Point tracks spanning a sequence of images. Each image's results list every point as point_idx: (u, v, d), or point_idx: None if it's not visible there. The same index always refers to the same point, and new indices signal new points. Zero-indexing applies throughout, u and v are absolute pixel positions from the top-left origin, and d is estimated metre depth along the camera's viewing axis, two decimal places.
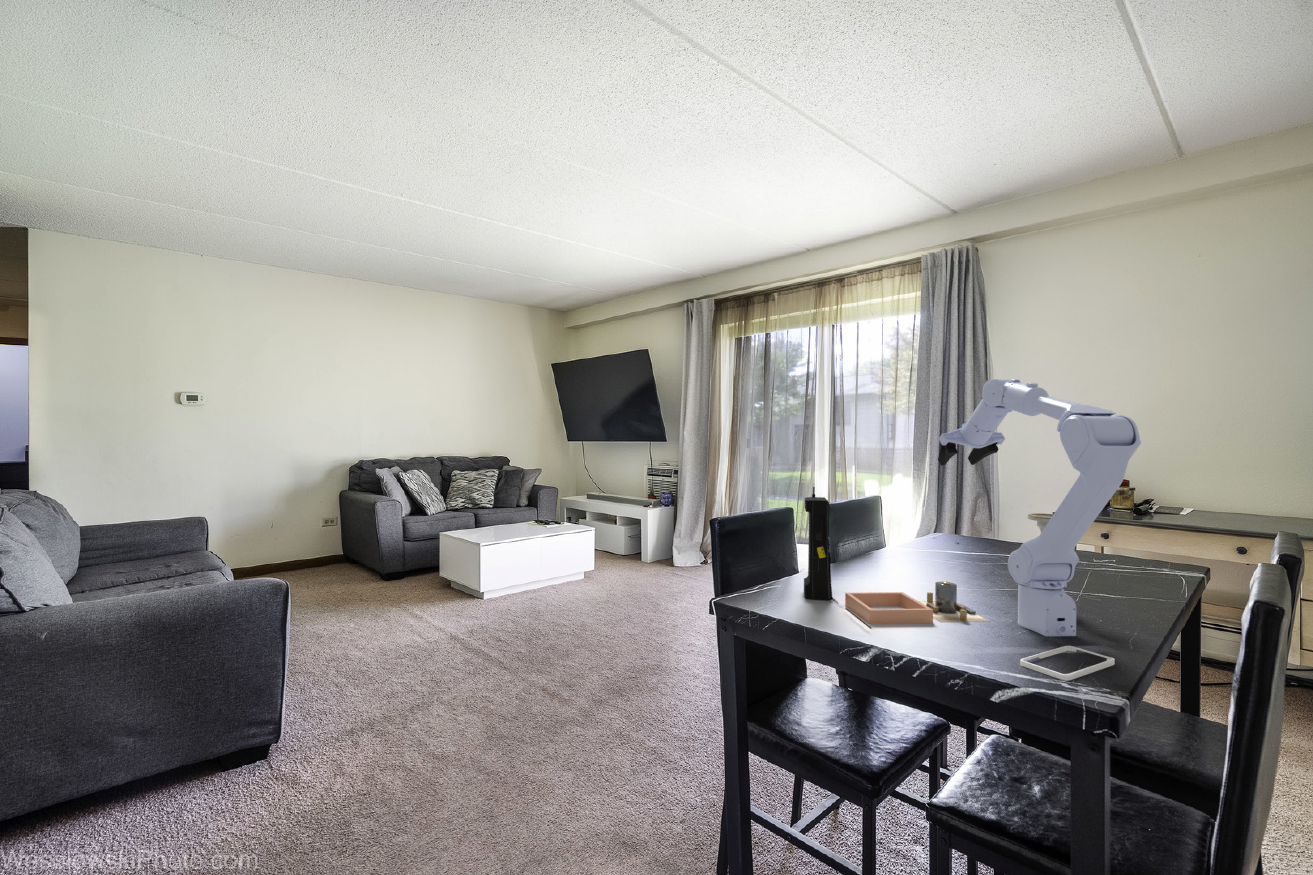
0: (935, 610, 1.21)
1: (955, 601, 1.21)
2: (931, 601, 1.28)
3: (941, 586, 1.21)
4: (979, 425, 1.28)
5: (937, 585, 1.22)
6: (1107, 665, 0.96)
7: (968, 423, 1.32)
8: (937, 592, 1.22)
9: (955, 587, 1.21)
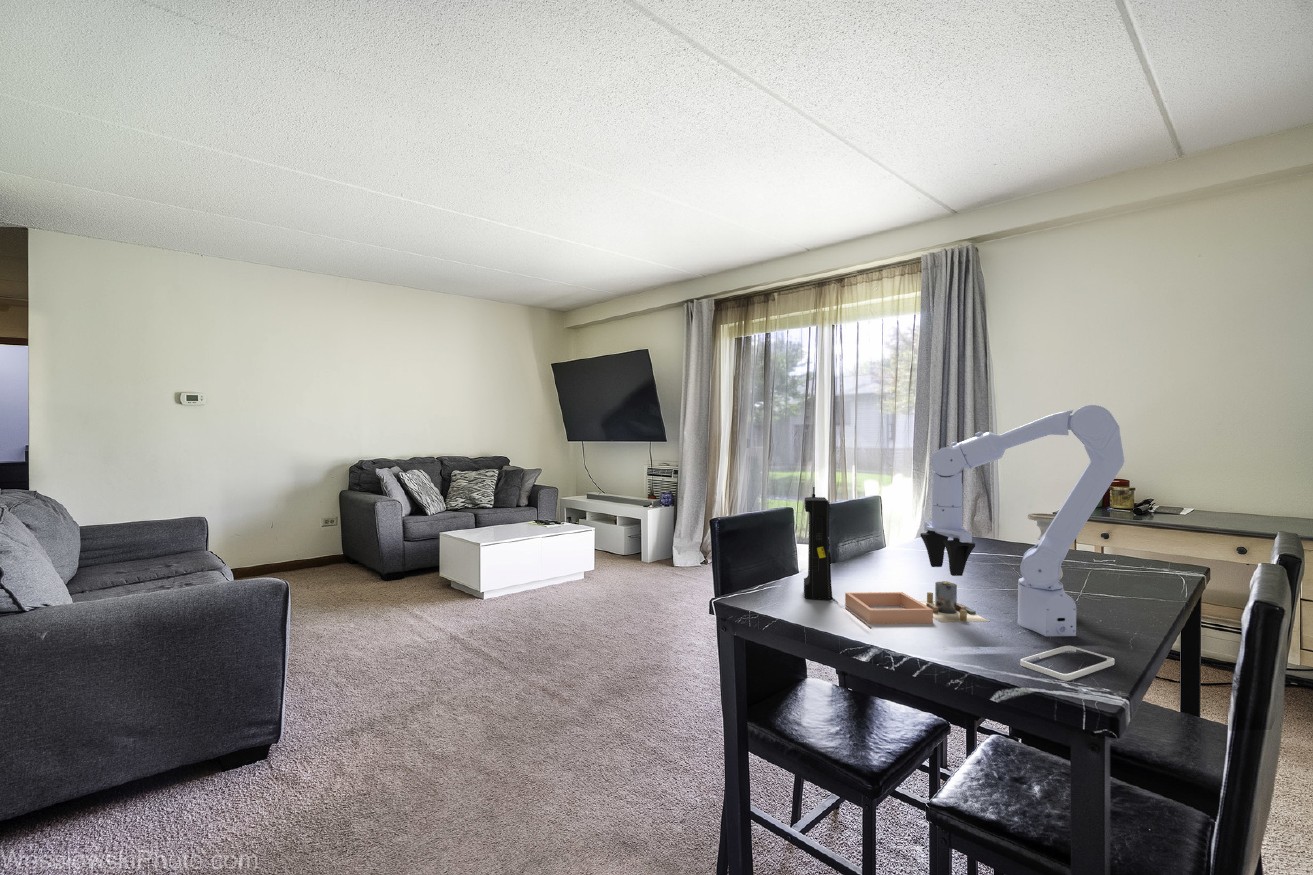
0: (935, 610, 1.21)
1: (955, 601, 1.21)
2: (931, 601, 1.28)
3: (941, 586, 1.21)
4: (955, 502, 1.20)
5: (937, 585, 1.22)
6: (1107, 665, 0.96)
7: (949, 512, 1.20)
8: (937, 592, 1.22)
9: (955, 587, 1.21)
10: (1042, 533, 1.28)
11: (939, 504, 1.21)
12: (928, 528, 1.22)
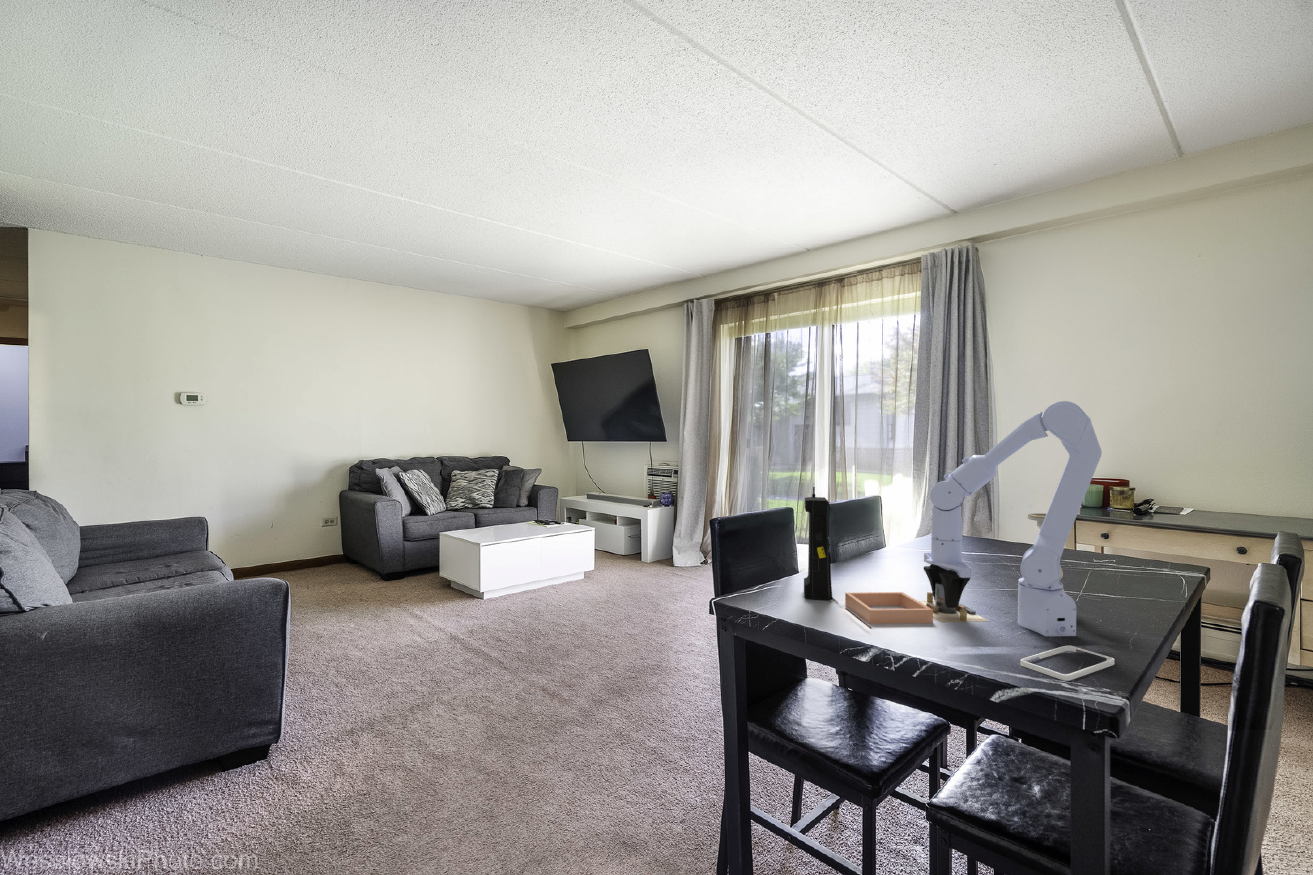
0: (935, 610, 1.21)
1: None
2: (931, 601, 1.28)
3: (941, 586, 1.21)
4: (954, 536, 1.20)
5: (937, 585, 1.22)
6: (1107, 665, 0.96)
7: (949, 546, 1.20)
8: (937, 592, 1.22)
9: None
10: None
11: (939, 538, 1.21)
12: (928, 561, 1.22)
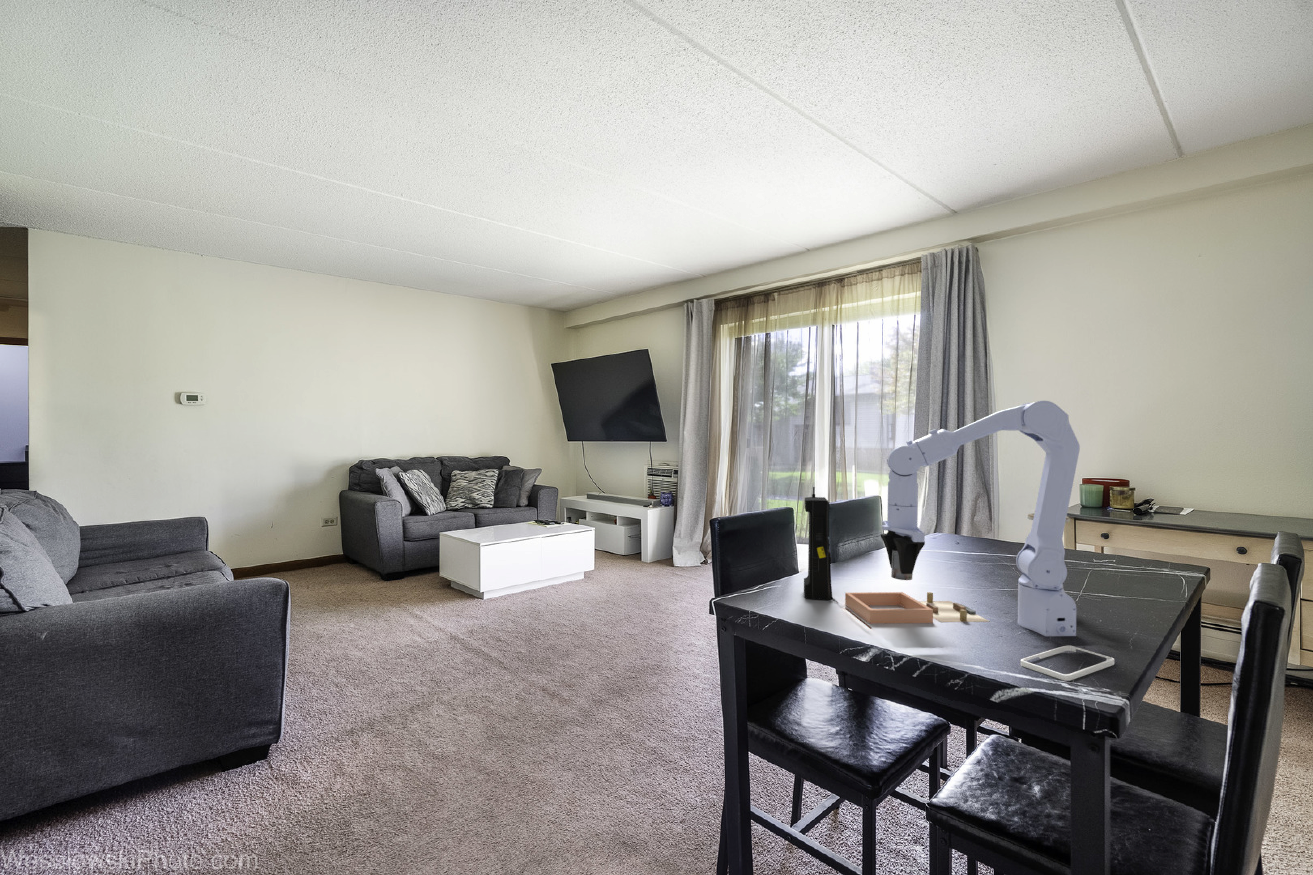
0: (935, 610, 1.21)
1: None
2: (931, 601, 1.28)
3: (897, 552, 1.20)
4: (913, 501, 1.18)
5: (894, 551, 1.21)
6: (1107, 665, 0.96)
7: (904, 511, 1.18)
8: (893, 558, 1.21)
9: None
10: None
11: (898, 504, 1.19)
12: (883, 527, 1.21)
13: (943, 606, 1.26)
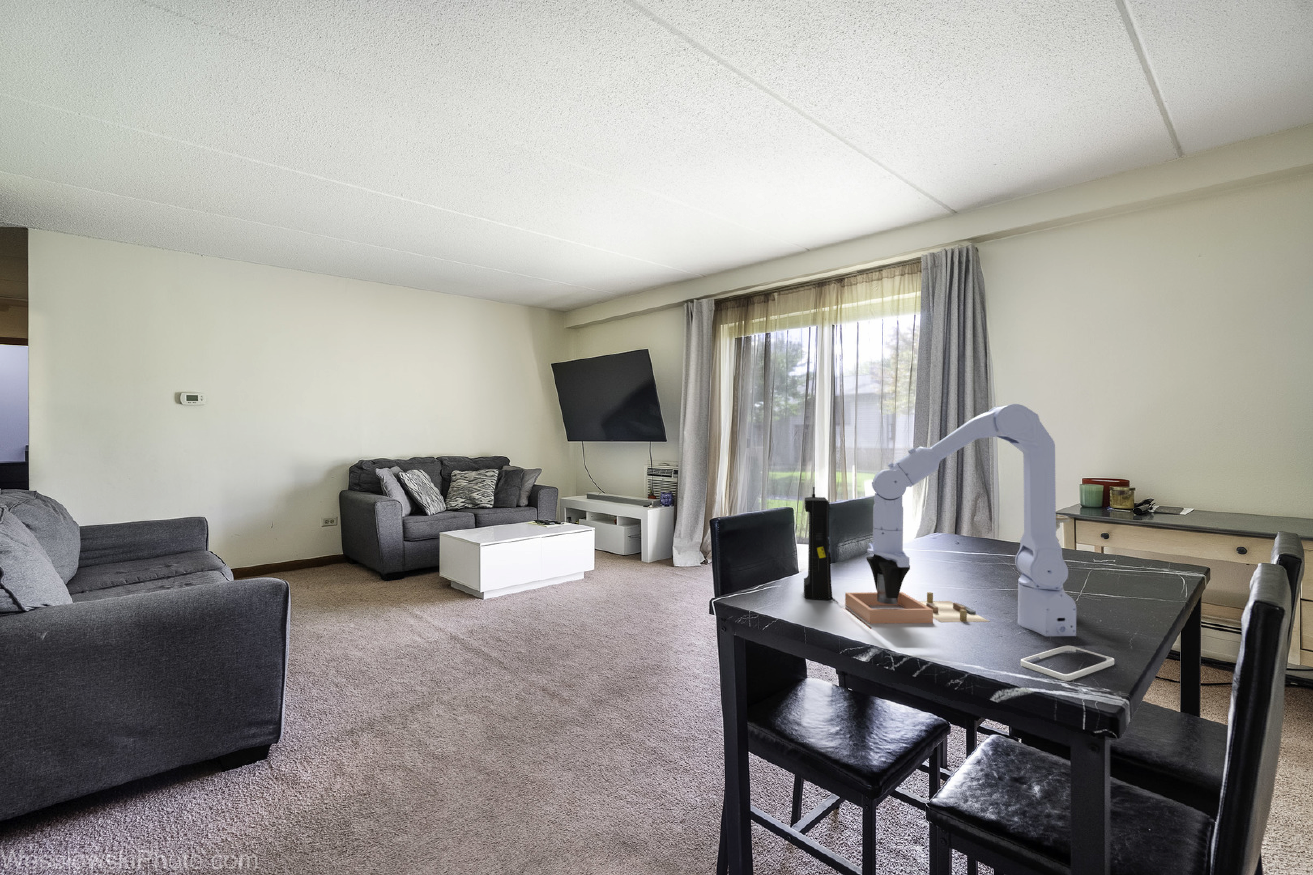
0: (935, 610, 1.21)
1: None
2: (931, 601, 1.28)
3: None
4: (898, 525, 1.18)
5: (879, 575, 1.20)
6: (1107, 665, 0.96)
7: (889, 535, 1.18)
8: (879, 582, 1.20)
9: None
10: None
11: (883, 528, 1.18)
12: (868, 551, 1.20)
13: (943, 606, 1.26)
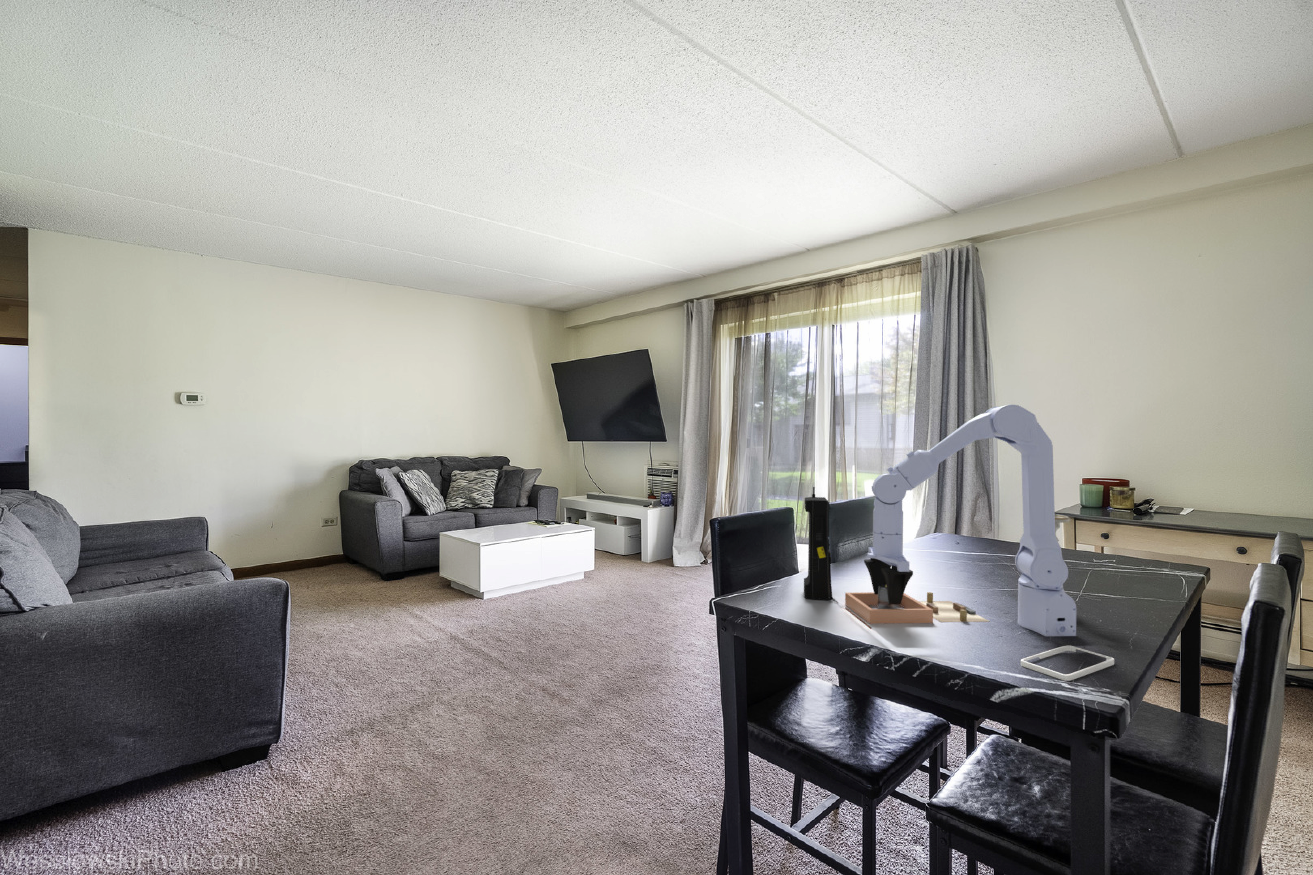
0: (935, 610, 1.21)
1: (897, 605, 1.19)
2: (931, 601, 1.28)
3: (883, 589, 1.20)
4: (898, 530, 1.18)
5: (880, 588, 1.20)
6: (1107, 665, 0.96)
7: (889, 540, 1.18)
8: (879, 595, 1.20)
9: None
10: None
11: (883, 532, 1.18)
12: (868, 555, 1.20)
13: (943, 606, 1.26)
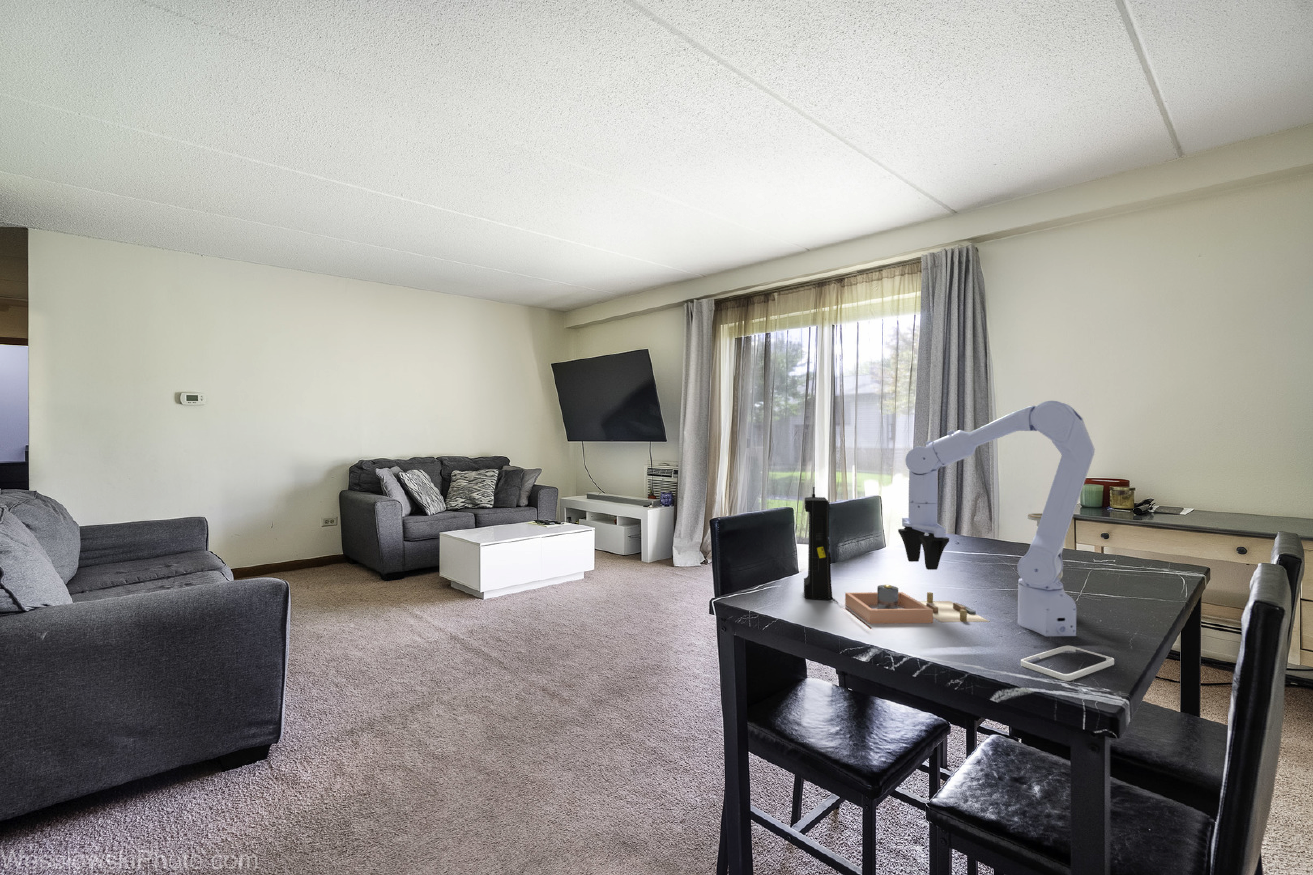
0: (935, 610, 1.21)
1: (896, 605, 1.19)
2: (931, 601, 1.28)
3: (882, 590, 1.20)
4: (928, 499, 1.25)
5: (879, 589, 1.20)
6: (1107, 665, 0.96)
7: (925, 508, 1.25)
8: (879, 596, 1.20)
9: (896, 591, 1.19)
10: None
11: (913, 501, 1.26)
12: (905, 524, 1.27)
13: (943, 606, 1.26)
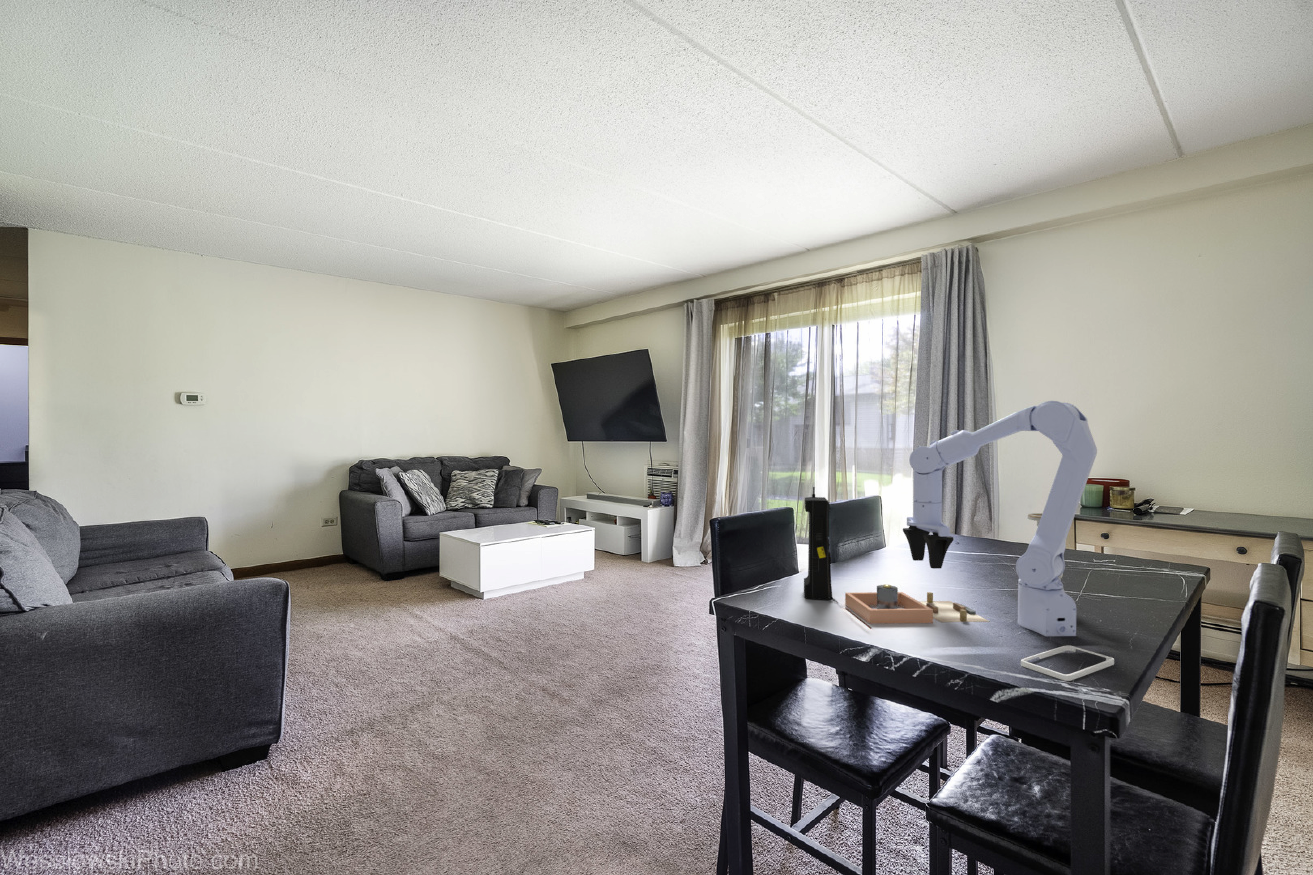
0: (935, 610, 1.21)
1: (896, 604, 1.19)
2: (931, 601, 1.28)
3: (881, 590, 1.20)
4: (932, 498, 1.26)
5: (878, 589, 1.20)
6: (1107, 665, 0.96)
7: (929, 508, 1.26)
8: (878, 596, 1.20)
9: (895, 590, 1.19)
10: None
11: (917, 500, 1.27)
12: (909, 523, 1.28)
13: (943, 606, 1.26)
